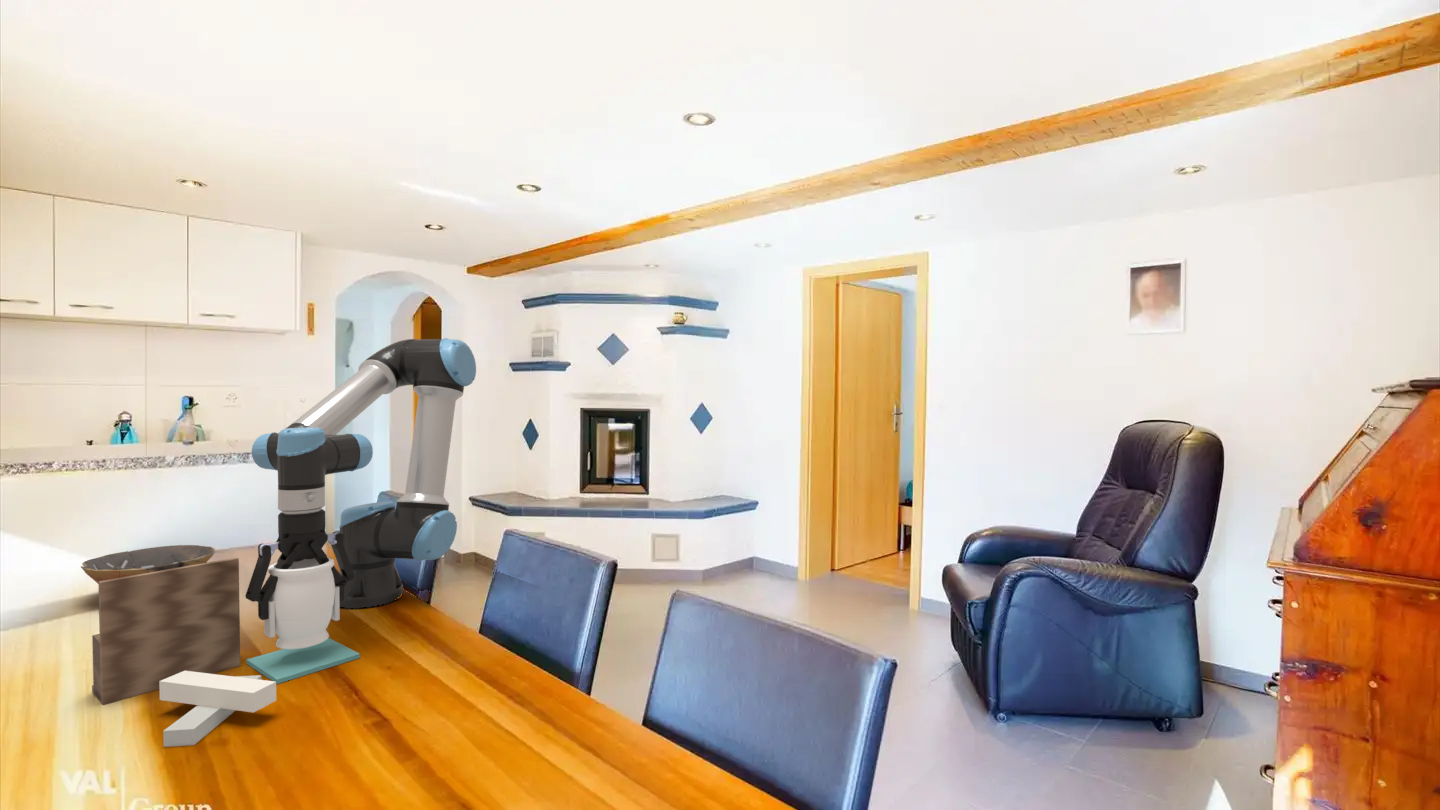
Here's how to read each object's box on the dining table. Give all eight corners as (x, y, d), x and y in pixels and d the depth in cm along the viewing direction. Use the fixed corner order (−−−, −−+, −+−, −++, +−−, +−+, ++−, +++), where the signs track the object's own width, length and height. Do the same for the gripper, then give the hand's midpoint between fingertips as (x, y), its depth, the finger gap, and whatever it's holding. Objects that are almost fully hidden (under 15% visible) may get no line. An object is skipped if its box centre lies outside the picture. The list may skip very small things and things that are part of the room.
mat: (326, 640, 135) (326, 636, 135) (359, 657, 127) (359, 653, 127) (246, 663, 124) (246, 659, 124) (277, 684, 116) (277, 679, 116)
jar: (264, 656, 118) (263, 573, 118) (273, 637, 128) (272, 559, 127) (333, 646, 123) (332, 566, 123) (336, 628, 132) (336, 553, 132)
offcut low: (236, 693, 114) (235, 676, 113) (261, 692, 114) (261, 675, 114) (163, 751, 96) (163, 730, 96) (194, 749, 96) (193, 729, 96)
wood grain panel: (226, 656, 127) (224, 552, 127) (240, 665, 123) (238, 558, 123) (92, 692, 112) (89, 575, 112) (102, 704, 108) (100, 582, 107)
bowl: (233, 591, 166) (232, 552, 166) (102, 621, 146) (101, 576, 145) (191, 575, 180) (190, 539, 180) (66, 600, 159) (65, 559, 159)
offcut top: (159, 699, 105) (159, 681, 105) (185, 688, 109) (184, 670, 109) (253, 712, 101) (253, 693, 101) (276, 700, 105) (276, 681, 105)
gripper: (237, 522, 113) (239, 651, 114) (373, 504, 132) (374, 614, 132) (221, 517, 118) (223, 640, 118) (355, 500, 136) (356, 607, 137)
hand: (303, 627), depth 125 cm, fingers closed on jar, 10 cm apart
